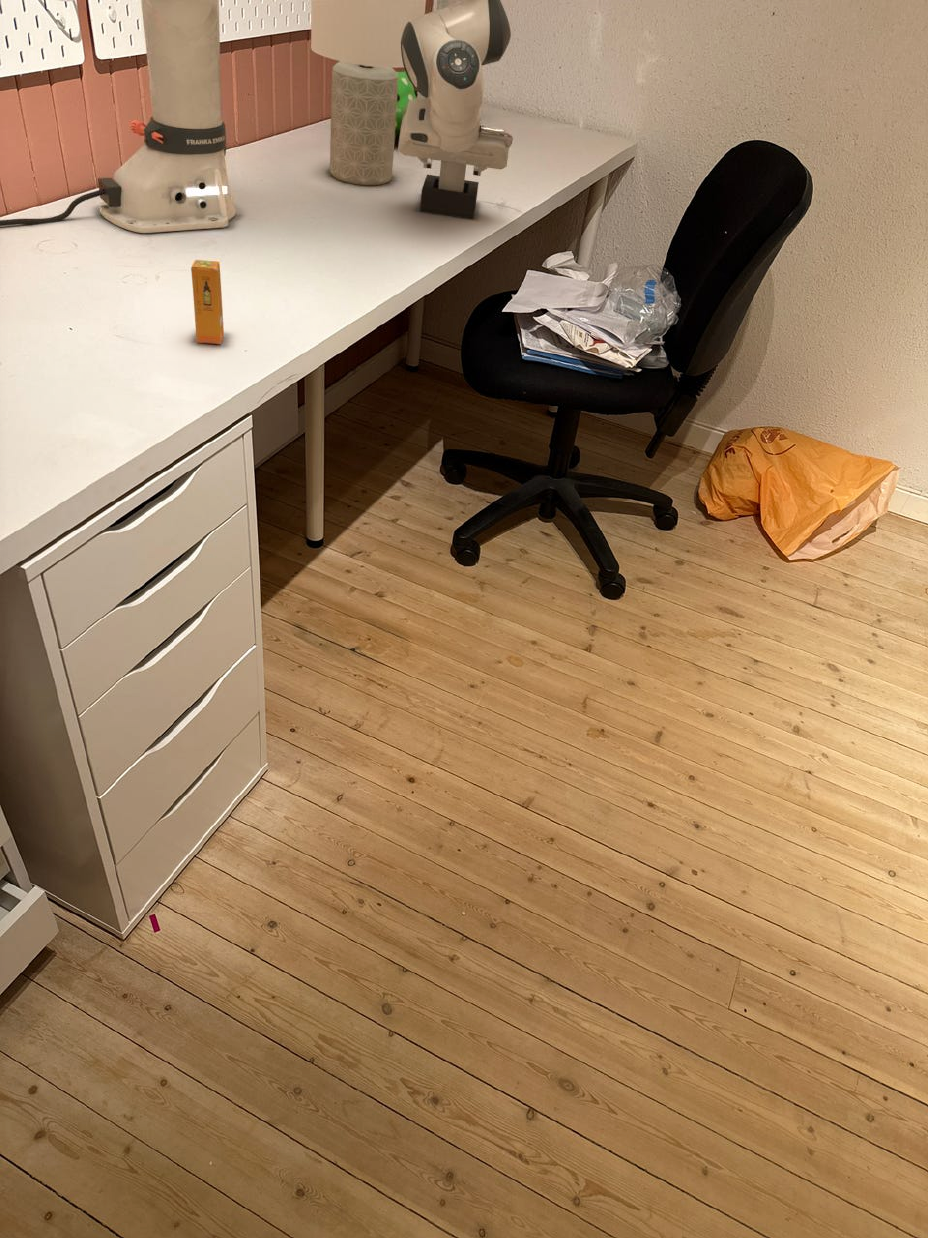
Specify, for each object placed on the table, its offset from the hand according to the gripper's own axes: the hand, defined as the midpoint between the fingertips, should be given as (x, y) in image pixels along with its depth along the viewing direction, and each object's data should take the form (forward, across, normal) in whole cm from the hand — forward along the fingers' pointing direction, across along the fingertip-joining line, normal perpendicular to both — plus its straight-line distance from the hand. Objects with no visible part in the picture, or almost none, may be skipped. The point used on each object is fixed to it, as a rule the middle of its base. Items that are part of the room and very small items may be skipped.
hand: (452, 168), depth 175 cm
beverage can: (+4, 0, +5) cm, 7 cm away
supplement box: (-46, +26, +56) cm, 78 cm away
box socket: (+4, 0, +5) cm, 7 cm away
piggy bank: (+34, +18, -24) cm, 46 cm away
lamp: (+13, +19, -3) cm, 23 cm away
